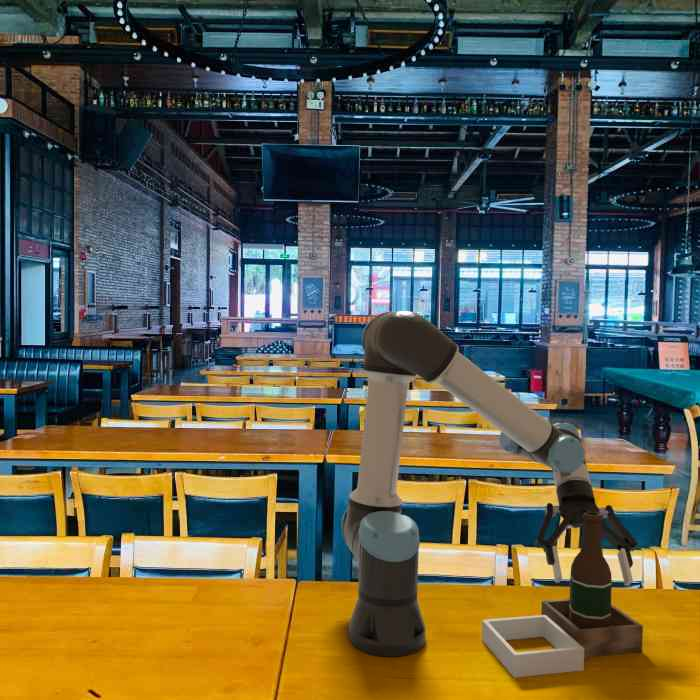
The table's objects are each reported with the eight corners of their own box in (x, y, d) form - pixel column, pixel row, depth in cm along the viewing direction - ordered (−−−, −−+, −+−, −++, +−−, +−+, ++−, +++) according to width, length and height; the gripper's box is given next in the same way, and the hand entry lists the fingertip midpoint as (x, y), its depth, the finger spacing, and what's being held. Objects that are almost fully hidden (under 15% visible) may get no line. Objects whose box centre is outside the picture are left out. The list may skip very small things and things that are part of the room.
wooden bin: (578, 658, 117) (578, 631, 117) (541, 624, 130) (541, 600, 130) (642, 651, 120) (642, 626, 120) (599, 619, 133) (600, 596, 133)
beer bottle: (572, 620, 131) (576, 505, 130) (612, 629, 127) (616, 511, 126) (564, 635, 124) (568, 515, 123) (606, 646, 120) (611, 521, 119)
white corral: (513, 677, 110) (514, 655, 110) (481, 640, 123) (482, 620, 123) (583, 670, 113) (584, 648, 113) (544, 634, 126) (545, 614, 126)
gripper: (626, 497, 140) (652, 591, 126) (513, 494, 142) (526, 586, 127) (636, 479, 135) (665, 576, 120) (519, 476, 136) (533, 570, 122)
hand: (593, 581), depth 124 cm, fingers open, 13 cm apart
